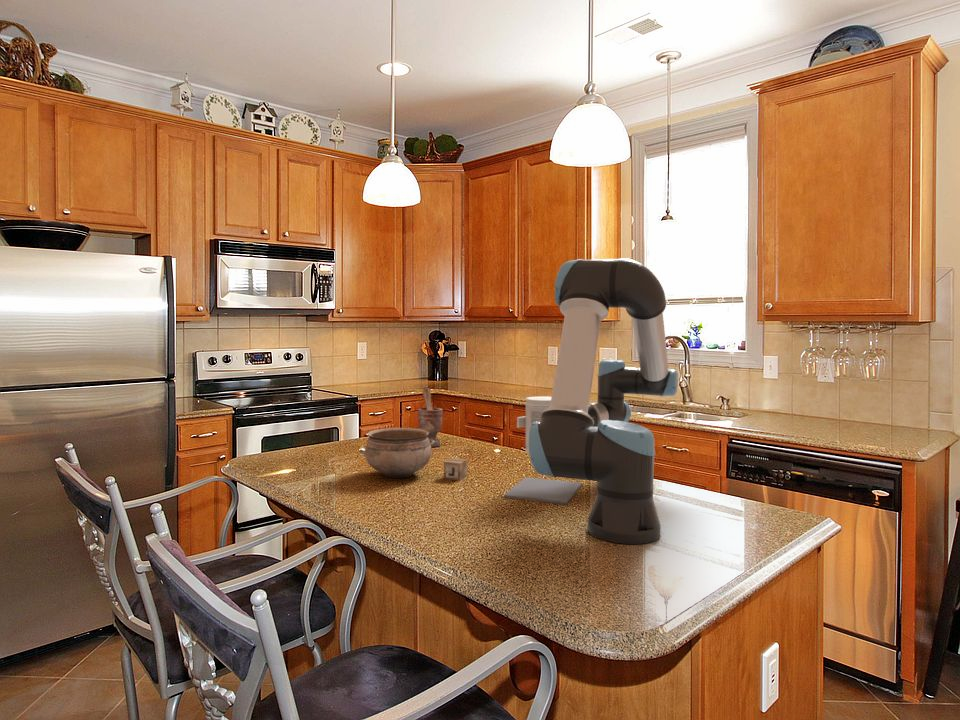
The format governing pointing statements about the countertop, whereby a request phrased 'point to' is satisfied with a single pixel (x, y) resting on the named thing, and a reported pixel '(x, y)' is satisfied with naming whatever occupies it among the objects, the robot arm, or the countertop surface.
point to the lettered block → (455, 469)
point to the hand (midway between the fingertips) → (531, 425)
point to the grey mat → (544, 490)
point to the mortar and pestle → (430, 418)
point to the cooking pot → (398, 451)
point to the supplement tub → (534, 413)
